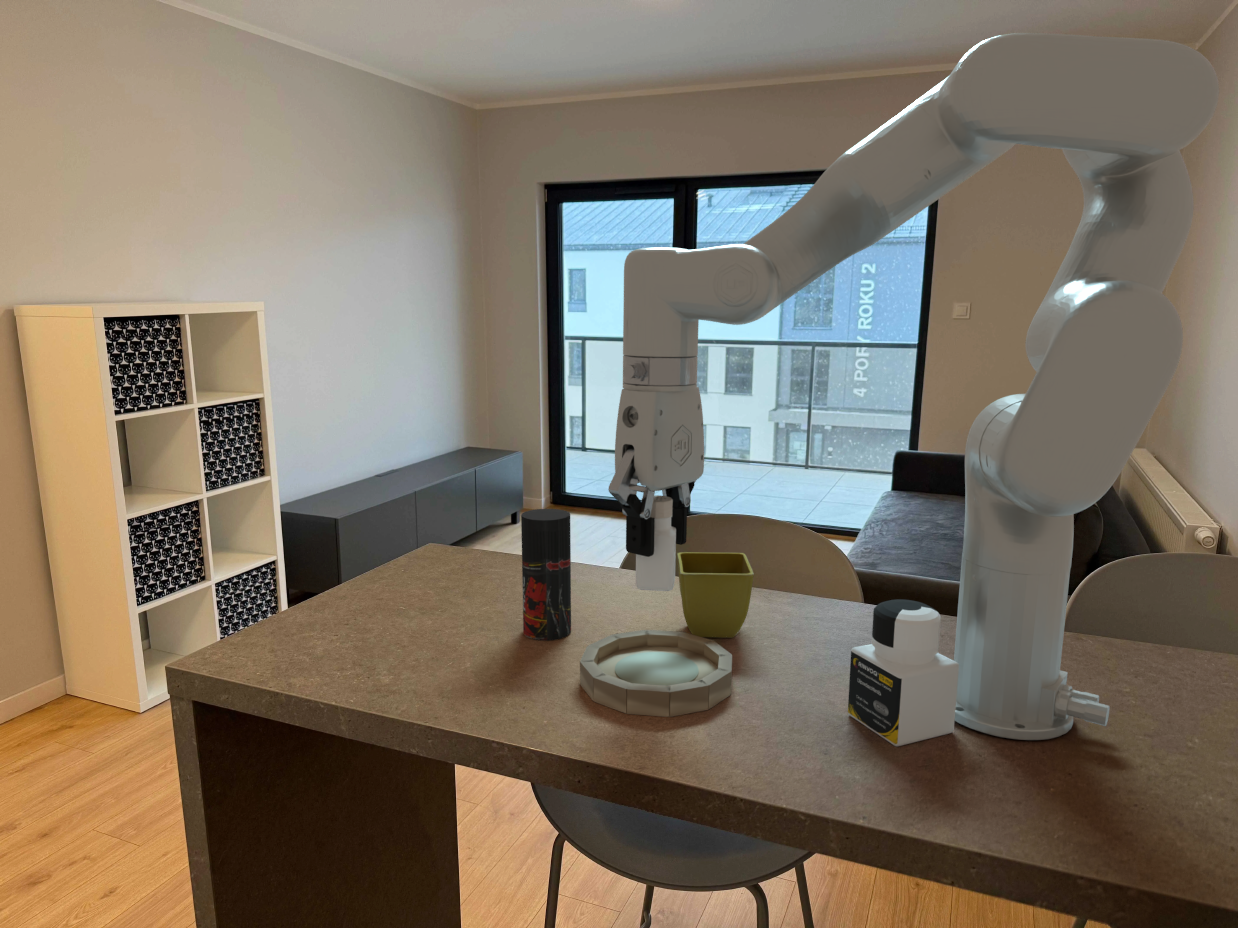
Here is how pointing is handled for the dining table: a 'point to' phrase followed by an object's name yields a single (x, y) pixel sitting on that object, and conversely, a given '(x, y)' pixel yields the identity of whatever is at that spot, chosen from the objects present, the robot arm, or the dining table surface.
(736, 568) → the flower pot
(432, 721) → the dining table surface
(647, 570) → the pepper shaker
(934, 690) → the medicine bottle
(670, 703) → the tray
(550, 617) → the deodorant
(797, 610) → the dining table surface
